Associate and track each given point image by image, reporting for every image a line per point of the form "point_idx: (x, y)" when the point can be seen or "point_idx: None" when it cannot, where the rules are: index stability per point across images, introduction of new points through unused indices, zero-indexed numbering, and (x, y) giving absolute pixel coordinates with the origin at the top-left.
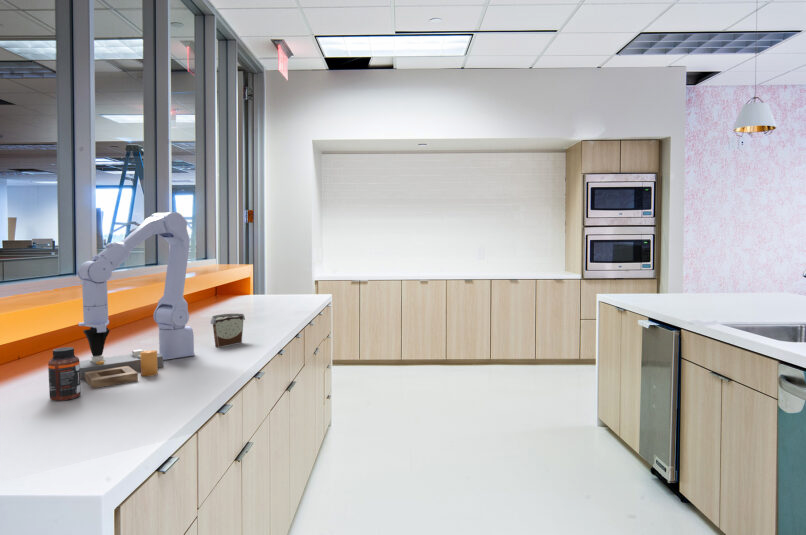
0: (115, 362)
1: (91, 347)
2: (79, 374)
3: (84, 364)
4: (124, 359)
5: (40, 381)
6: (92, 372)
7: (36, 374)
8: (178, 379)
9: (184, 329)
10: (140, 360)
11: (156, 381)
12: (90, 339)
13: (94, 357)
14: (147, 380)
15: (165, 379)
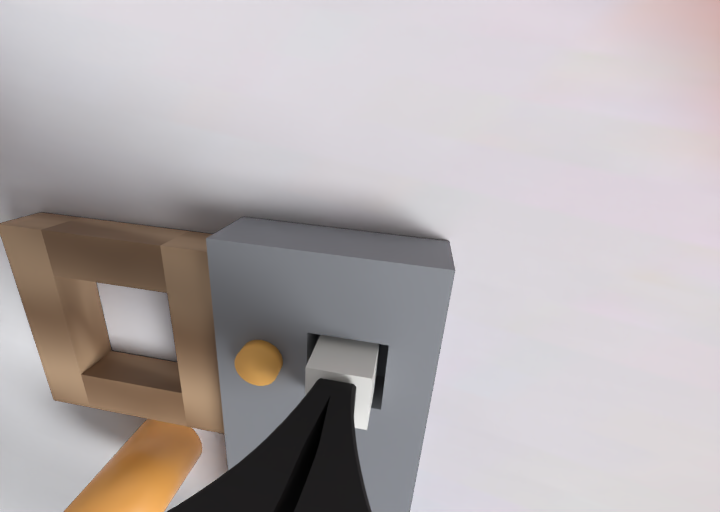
0: (241, 415)
1: (282, 422)
2: None
3: (310, 294)
4: None
5: (379, 18)
6: (172, 278)
7: (654, 30)
8: (40, 455)
9: None
10: None
11: (45, 407)
12: (212, 488)
13: (305, 372)
14: None
15: (59, 434)
